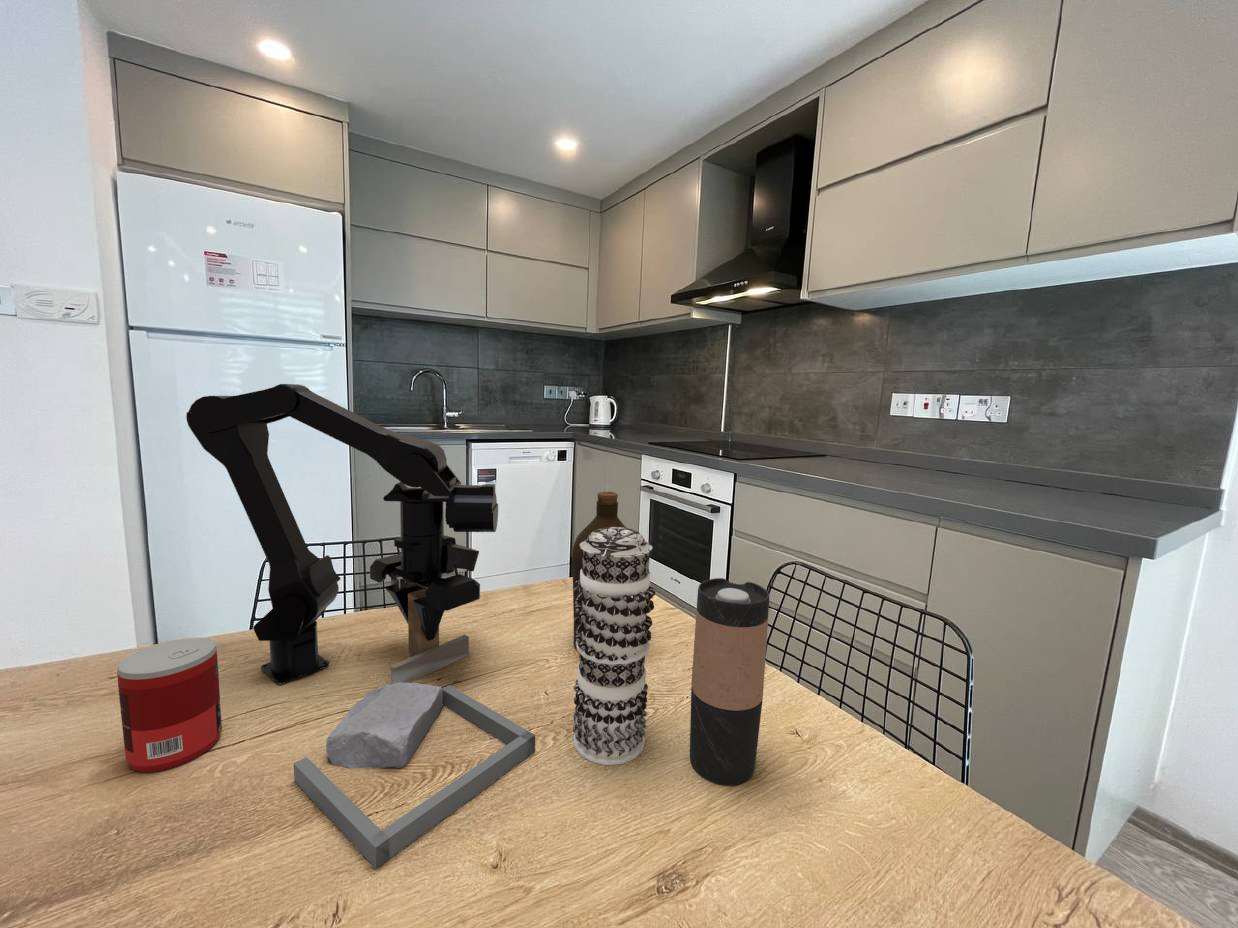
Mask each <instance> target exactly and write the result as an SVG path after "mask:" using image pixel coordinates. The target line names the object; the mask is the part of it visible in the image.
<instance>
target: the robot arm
mask: <svg viewBox="0 0 1238 928" xmlns="http://www.w3.org/2000/svg"><path fill="white" fill-rule="evenodd" d="M288 417H290V418H292V419H294V420H296V421H298V422H300V423H302V424H304V425H307V426H308V427H310V428H312V429H314V430H316V431H319V432H320V433H323V434H325V435H327V436H329V437H330V438H333V439H335V440H336V441H339V442H340V443H342V444H345V445H347V446H348V447H349V446H350V447H351V448H353V449H355V450H357V451H360V452H361V453H363V454H364V455H365V454H366V455H367V456H369V457H370V458H371V459H373V460H374V461H375V462H376V463H377V464H378V465H379V466H380V468H382V469H383V470H384V471H385V472H387V473H388V474H389V475H391V476H392V477H393V478H395V479H396V480H398V481H399V482H396V483H395V484H394V486H393V487H392V489H391V490H390V491H389V492H388V493H386V494H385V495H384V496H383V499H382V500H383V501H384V502H399V507H400V509H399V514H400V515H399V516H400V517H399V518H400V519H399V521H400V523H399V524H400V525H399V526H400V537H398V538H394V540H393V543H394V547H396V548H399V549H400V553H398V554H393V555H389V556H385V557H380V558H376V559H375V560H374V561H373V562H372V564H371V565H370V566H369V578H370V580H372V581H375V582H377V583H379V584H380V583H383V582H384V581H385V580H386V579H387V576H388V577H389V578H390V585H387V586H386V587H385V590H386V591H387V592H388V593H389V595H390V596H391V598H392V600H393V601H394V602H395V604H396V606H397V607H398V609H399V611H400V612H401V614H402V616H403V618H404V620H405V621H406V623H407V624H408V593H412V592H415V591H418V590H421V589H424V588H425V589H427V590H426V593H425V597H422V598H419V599H416V600H413V603H414V606H415V609H416V612H417V615H418V618H419V621H420V624H421V627H422V630H423V633H424V635H425V637H426V640H428V641H430V640H432V639H434V638H435V635H436V633H437V630H438V627H439V628H440V624H441V621H442V620H443V619H442V618H443V616H444V612H447V611H451V610H453V609H456V608H459V607H461V606H464V605H467V604H469V603H470V604H471V603H473V602H475V601H479V600H480V597H481V584H480V583H479V582H478V581H477V580H476V579H474V578H471V577H469V576H466V575H463V574H461V573H459V574H454V575H452V576H449V577H445V578H444V577H443V575H444V574H446V575H449V574H453V573H455V569H459V570H460V569H463V570H467V571H468V572H475V569H476V564H477V561H478V557H479V554H480V550H476V549H474V548H471V547H467V546H466V545H465V546H464V545H461V544H457V542H456V538H455V537H452V536H450V535H445V531H444V529H445V526H444V525H445V524H444V521H445V523H446V525H447V526H448V527H449V528H448V529H453V532H454V533H496V532H497V528H498V521H499V503H498V502H497V501H498V499H497V493H496V485H495V484H494V483H485V484H480V485H479V484H478V485H477V484H476V485H475V484H474V485H472V484H471V485H470V484H462V482H461V481H460V480H459V478H458V477H457V476H456V474H455V473H454V471H452V469H451V468H450V467H449V465H448V464H447V457H446V453H445V450H444V449H443V448H442V447H441V446H440V445H439V444H437V443H435V442H432V441H430V440H426V439H423V438H419V437H416V436H413V435H409V434H405V433H402V432H401V433H400V432H397V431H394V430H390V429H387V428H384V427H383V426H381V425H379V424H377V423H374V422H373V421H371V420H369V419H367V418H366V417H364V416H361V415H359V414H357V413H355V412H353V411H350V410H349V409H347V408H346V407H343V406H341V405H339V404H337V403H335V402H333V401H331V400H330V399H327V398H325V397H323V396H322V395H319V394H317V393H315V392H313V391H312V390H310V388H309V387H307V386H305V385H302V384H297V383H296V384H294V383H280V384H277V385H275V386H272V387H269V388H266V389H261V390H256V391H251V392H247V393H242V394H237V395H206V396H202V397H200V398H197V399H196V400H195V401H194V402H192V404H191V405H190V407H189V410H188V411H187V412H186V422H187V426H188V428H189V430H190V431H191V432H192V433H193V435H194V437H195V438H196V440H197V442H199V444H200V445H201V447H202V449H203V450H204V451H206V453H207V454H209V455H211V456H212V457H213V458H214V460H215V459H216V460H217V461H218V462H219V463H220V464H222V466H223V467H224V468H225V469H226V471H227V473H228V476H229V478H230V480H231V482H232V484H233V487H234V489H235V491H236V494H237V496H238V499H239V500H240V502H241V505H242V507H243V509H244V511H245V513H246V516H247V518H248V520H249V523H250V524H251V526H252V529H253V530H254V531H253V532H254V534H255V535H256V538H257V540H258V542H259V544H260V546H261V549H262V552H263V553H264V555H265V558H266V560H267V562H268V565H269V574H268V575H269V576H268V588H267V590H268V595H269V598H270V599H269V600H270V603H271V608H272V609H271V610H269V612H267V613H266V614H265V615H264V616H263V617H262V618H261V619H260V620H258V621H257V622H256V624H255V625H253V627H252V629H253V630H254V634H255V635H256V637H257V640H258V641H259V642H267V641H268V642H269V656H270V658H269V659H270V661H269V662H267V663H264V664H262V665H261V666H260V670H261V671H262V673H265V675H267V676H268V677H269V678H270V679H272V681H274V682H275V683H277V685H282V684H285V683H288V682H291V681H293V680H296V679H298V678H301V677H304V676H307V675H309V674H311V673H314V672H317V671H319V670H323V669H324V668H328V667H329V664H330V663H329V661H328V660H326V658H324V657H322V656H321V655H320V654H319V641H318V622H317V620H318V619H319V618H320V617H321V616H323V615H324V614H325V613H326V610H327V608H328V607H329V606H330V605H331V604H332V603H333V602H334V601H336V597H337V596H338V593H339V589H340V588H339V584H338V582H339V581H341V577H340V576H339V575H338V574H337V573H336V571H335V569H334V566H333V565H334V564H333V561H332V558H331V556H330V555H325V556H323V557H321V558H319V557H318V556H317V555H315V554H314V553H313V552H312V551H310V549H309V548H308V546H307V544H306V541H305V539H304V537H303V534H302V532H301V530H300V527H299V525H298V523H297V520H296V518H295V516H294V513H293V512H292V509H291V508H290V505H289V502H288V500H287V497H286V495H285V493H284V491H283V488H282V487H281V484H280V482H279V480H278V477H277V474H276V473H275V470H274V468H273V466H272V463H271V461H270V459H269V455H268V449H269V437H270V432H269V428H268V424H271V423H275V422H278V421H280V420H281V421H282V420H284V419H286V418H288ZM444 503H445V504H444ZM444 505H445V506H444ZM444 507H445V508H444ZM444 509H445V511H444ZM444 513H445V514H444ZM444 515H445V516H444ZM444 519H445V520H444Z"/></svg>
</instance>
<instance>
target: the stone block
mask: <svg viewBox="0 0 1238 928" xmlns="http://www.w3.org/2000/svg"><path fill="white" fill-rule="evenodd" d="M442 689H443V688H442V687H441V686H435V685H430V684H425V683H424V684H422V683H418V682H410V683H407V682H406V683H402V682H399V683H395V684H391V683H390V684H385V685H382V686H380V687H378V688H377V687H376V688H374V689H373V690H372V689H371V690H370V691H368V692H367V693H365V695H364V696H363V698H362V699H360V700H359V701H357V702H356V703H355V704H354V705H353V706H352V707H351V708H350V709H349V710H348V712H347V713H346V715H345V716H344V718H343V719H342V720H340V721H339V722H338V723H337V725H336V726H335V728H334V729H333V730H332V731H331V732H330V733H329V735H328V736H327V739H326V745H325V747H326V748H325V749H326V753H327V757H328V759H329V760H330V763H331V764H332V765H334V766H337V767H342V768H345V769H367V768H378V769H387V768H395V769H401V768H404V767H406V766H407V764H408V763H409V762H410V761H411V759H412V757H413V755H415V752H416V751H417V749H418V748H419V746H420V744H421V743H422V741H423V740H424V738H425V737H426V734H427V733H428V732H429V730H430V728H431V726H432V725H433V723H435V720H436V718H437V717H438V715H440V712H441V710H442V708H443V706H444V705H443V695H442Z"/></svg>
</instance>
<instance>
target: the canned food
mask: <svg viewBox="0 0 1238 928" xmlns="http://www.w3.org/2000/svg"><path fill="white" fill-rule="evenodd" d="M219 678H220V677H219V661H218V650H217V645H216V642H215V640H212V639H210V638H206V637H187V638H186V637H185V638H180V639H172V640H169V641H164V642H160V643H157V644H154V645H150V646H148V647H145V648H142V649H140V650H138V651H135V652H133V653H132V654H130V655H128V656H126V657H125V658H124V659H122V660H121V661H120V662H119V663H118V665H117V686H118V696H119V697H118V698H119V705H120V717H121V725H122V727H121V728H122V735H123V736H122V738H123V747H124V754H125V755H124V756H125V757H124V758H125V761H126V763H127V764H128V766H129V767H130V768H131V769H132V770H133V771H136V772H139V773H140V772H142V773H153V772H160V771H165V770H169V769H173V768H175V767H178V766H179V767H180V766H181V765H184V764H187V763H188V762H191V761H192V760H194V759H196V758H198V757H200V756H202V755H203V754H204V753H206V752H207V751H209V750H210V749H211V748H212V747H214V745H216V743H217V742H218V741H219V739H220V736H221V732H222V728H223V727H222V710H221V709H222V708H221V695H220V694H221V692H220V679H219Z"/></svg>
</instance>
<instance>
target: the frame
mask: <svg viewBox="0 0 1238 928" xmlns="http://www.w3.org/2000/svg"><path fill="white" fill-rule="evenodd" d="M442 695H443V705H442V706H445V707H446V708H448V709H450V710H451V711H453V712H454V713H456V714H457V715H459V716H461V717H462V718H463V719H465V720H467V721H468V722H470V723H472V724H473V725H475V726H477V727H479V728H480V729H482V730H484V731H485V732H486V733H488V734H489V735H491V736H493V737H494V738H496V739H498V740H499V741H501V742H502V743H504V744H505V746H503V747H501V748H500V749H499V750H498V751H496V752H494V753H493V754H491V755H490V756H488V757H487V758H486V759H484V760H483V761H481V762H480V763H478V764H477V765H475V766H474V767H473V768H471V769H469V771H468V770H467V772H465V773H464V774H462V775H461V776H459V777H458V778H457V779H455V780H454V781H452V782H450V783H449V784H448V785H446V786H444V787H443V788H442V789H440V790H439V791H437V792H436V793H434V794H433V795H431V796H430V797H429V798H427V799H425V800H424V801H422V802H421V803H420V804H418V805H417V806H415V807H414V808H412V809H411V810H410V811H409V812H407V813H405V814H403V815H402V816H401V817H399V818H398V819H396V820H395V821H394V822H392V823H391V824H389V825H387V826H386V827H385V828H383V829H381V828H380V827H379V826H378V825H377V824H376V823H375V822H373V821H372V820H371V818H370V817H368V815H366V814H365V813H364V812H363V811H362V810H361V809H360V808H359V807H358V806H357V804H355V803H354V802H353V801H352V800H351V799H350V798H349V797H348V796H347V795H346V794H345V793H344V792H343V791H342V790H341V789H340V787H338V786H337V785H336V784H335V783H334V782H332V780H331V779H330V778H329V777H327V775H326V774H325V773H324V772H323V771H321V770H320V768H319V767H317V766H316V764H314V763H313V762H312V761H311V760H310V759H309V758H308V757H307V756H305V757H304V758H301V759H299V760H298V761H296V762H293V779H294V783H296V785H297V786H298V787H299V788H300V789H301V790H302V791H303V792H304V794H305V795H306V796H308V798H309V799H310V800H311V801H312V802H313V803H314V804H315V805H316V806H317V808H318V809H320V810H321V812H322V813H324V815H325V816H326V817H327V818H328V819H329V820H330V821H331V823H333V825H334V826H335V827H336V828H338V829H339V831H340V832H341V833H342V834H343V835H344V836H345V837H346V839H347V840H348V841H349V842H350V843H351V844H352V845H353V846H354V847H355V849H357V850H358V851H359V853H360V854H361V855H362V856H363V857H364V858H366V860H367V861H368V862H369V863H370V864H371V865H372V867H374V869H378V868H380V867H381V866H382V865H383V864H385V863H386V862H388V861H389V860H390V859H392V858H393V857H395V856H396V855H397V854H399V852H401V851H403V850H404V849H405V848H407V847H408V846H410V845H411V844H412V843H413V842H416V840H418V839H419V838H420V837H422V836H423V835H424V834H425V833H427V832H428V831H430V830H431V829H432V828H433V827H435V826H437V824H439V823H440V822H442V821H443V820H444V819H446V818H447V817H448V816H450V815H451V814H453V813H454V812H455V811H457V810H458V809H459V808H461V807H462V806H463V805H465V804H466V803H467V802H469V801H470V800H472V799H473V798H475V796H477V795H478V794H480V793H481V792H483V791H484V790H485V789H487V788H488V787H489V786H490V785H492V784H493V783H495V782H496V781H497V780H499V779H500V778H501V777H502V776H505V774H507V773H508V772H509V771H511V770H512V769H513V768H514V767H516V766H518V765H519V764H520V763H522V762H523V761H524V760H525V759H527V758H528V757H530V756H531V755H532V754H534V753H535V752H536V734H534V733H532V732H531V731H529V730H528V729H526V728H524V727H522V726H521V725H519V724H518V723H515V722H514V721H512V720H510V719H509V718H507V717H505V716H504V715H502V714H501V713H498V711H495V710H493V709H492V708H490V707H488V706H487V705H485V704H483V703H481V702H480V701H479V700H476V699H474V698H472V697H471V696H470V695H468V694H466V693H464V692H463V691H461V690H459V689H457V688H456V687H454V686H452V685H450V684H449V685H447V686H445V687H443V688H442Z"/></svg>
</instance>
